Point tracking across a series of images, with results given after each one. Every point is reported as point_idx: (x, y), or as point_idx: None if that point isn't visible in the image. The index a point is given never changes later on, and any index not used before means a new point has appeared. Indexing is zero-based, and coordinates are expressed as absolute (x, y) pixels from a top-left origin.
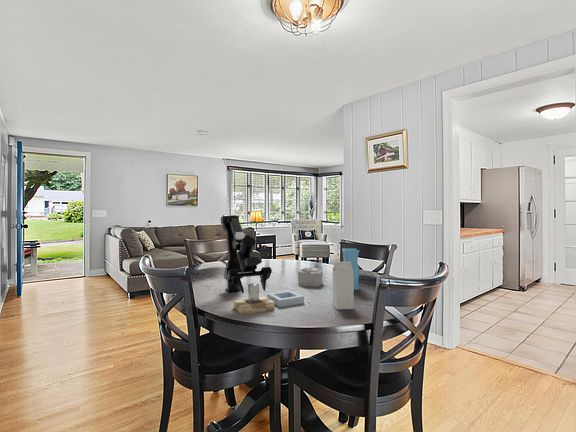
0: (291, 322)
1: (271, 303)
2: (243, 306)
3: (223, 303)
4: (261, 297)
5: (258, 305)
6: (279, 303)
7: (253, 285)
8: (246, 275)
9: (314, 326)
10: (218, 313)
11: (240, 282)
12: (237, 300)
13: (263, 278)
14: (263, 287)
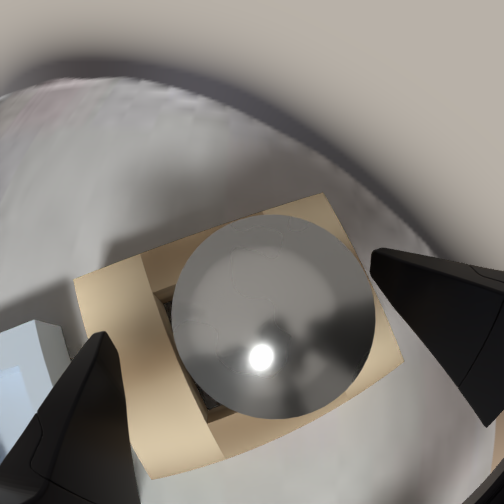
0: (91, 104)
1: (98, 272)
2: (317, 203)
3: (424, 442)
4: (170, 446)
5: (205, 233)
6: (48, 324)
7: (279, 236)
8: (490, 486)
9: (51, 85)
10: None
11: (483, 278)
12: (378, 367)
13: (44, 469)
14: (109, 373)
